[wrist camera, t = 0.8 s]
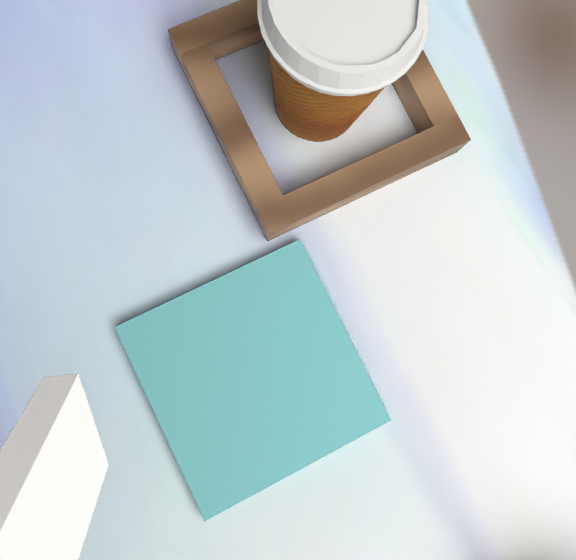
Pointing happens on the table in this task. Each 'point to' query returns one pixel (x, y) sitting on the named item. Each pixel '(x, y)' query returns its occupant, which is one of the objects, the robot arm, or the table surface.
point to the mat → (251, 377)
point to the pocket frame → (247, 155)
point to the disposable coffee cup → (337, 57)
